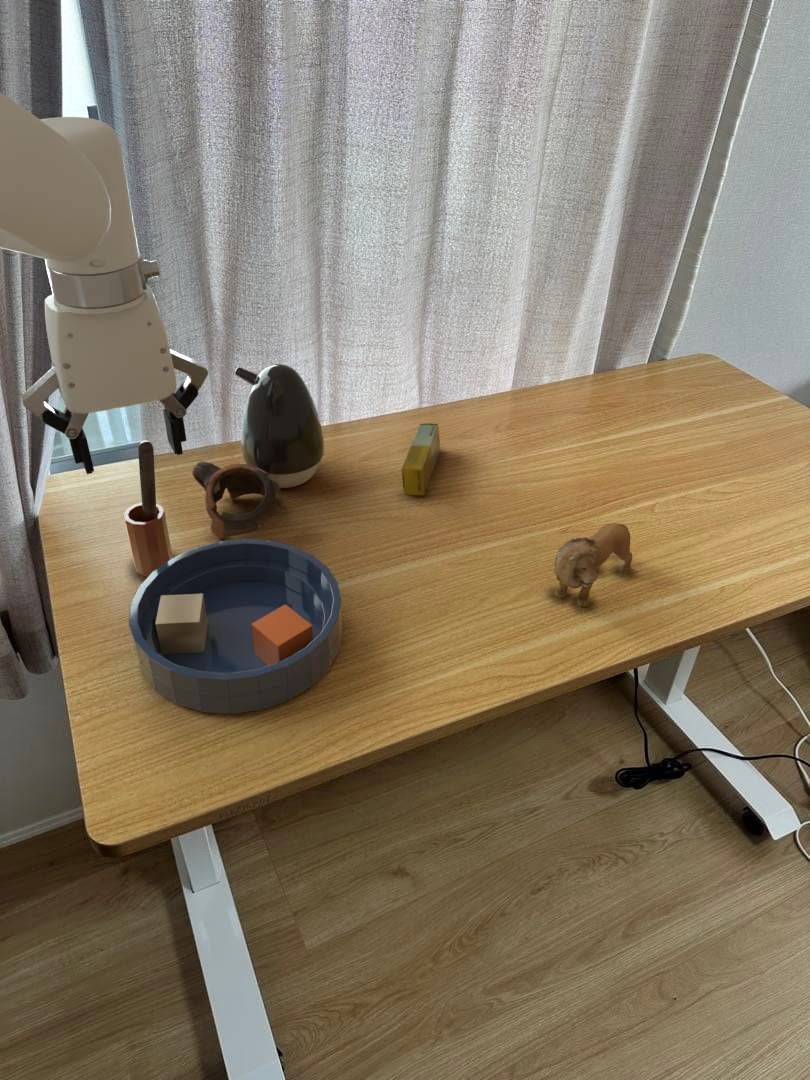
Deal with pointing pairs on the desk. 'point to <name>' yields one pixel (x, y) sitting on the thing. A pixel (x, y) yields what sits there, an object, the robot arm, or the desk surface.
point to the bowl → (238, 624)
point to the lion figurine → (590, 559)
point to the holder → (147, 539)
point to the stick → (147, 480)
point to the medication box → (421, 459)
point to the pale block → (182, 623)
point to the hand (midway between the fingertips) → (132, 456)
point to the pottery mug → (237, 483)
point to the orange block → (280, 635)
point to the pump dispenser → (281, 426)
